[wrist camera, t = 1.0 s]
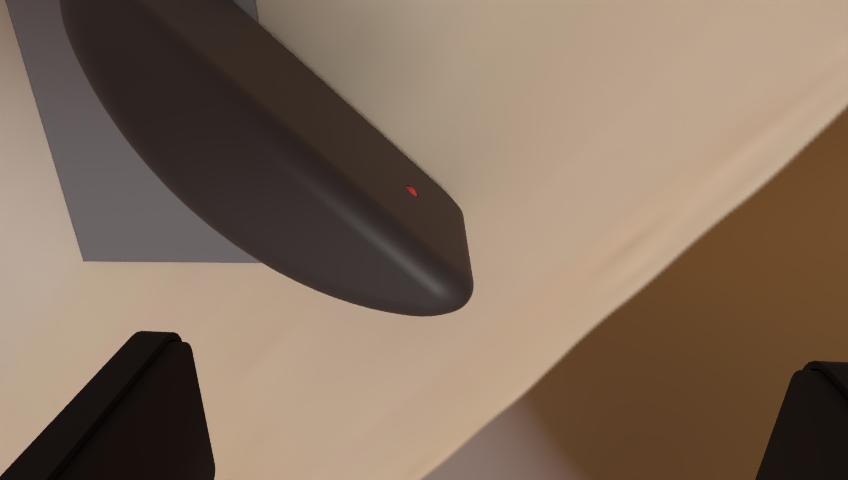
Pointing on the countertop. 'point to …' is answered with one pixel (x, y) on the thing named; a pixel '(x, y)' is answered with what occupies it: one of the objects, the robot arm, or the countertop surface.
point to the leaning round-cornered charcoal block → (271, 153)
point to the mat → (106, 158)
